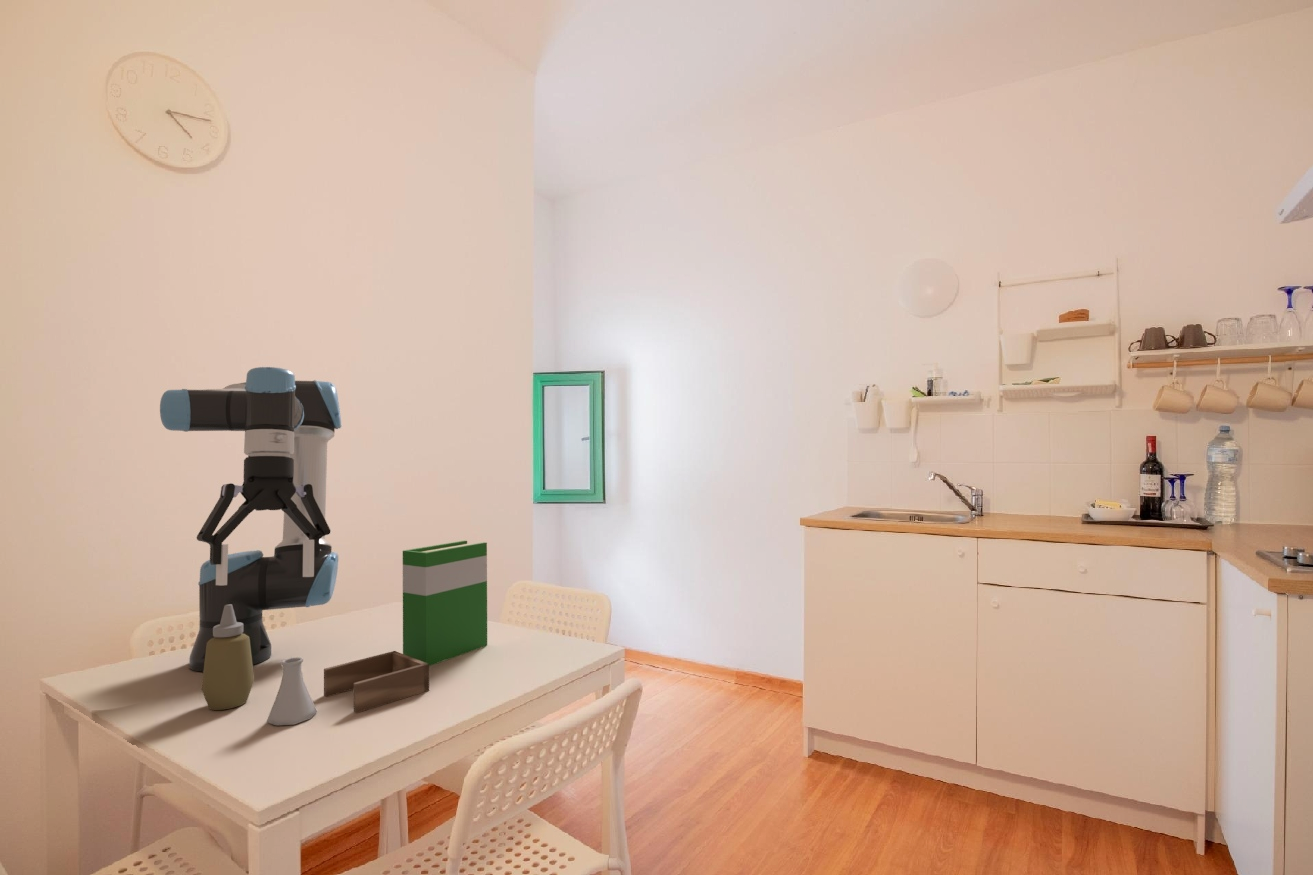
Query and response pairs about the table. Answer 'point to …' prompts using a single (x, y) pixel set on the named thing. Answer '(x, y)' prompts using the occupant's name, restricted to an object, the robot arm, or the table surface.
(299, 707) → the flask
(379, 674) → the box
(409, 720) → the table surface
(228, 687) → the squeeze bottle
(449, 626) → the hardback book
